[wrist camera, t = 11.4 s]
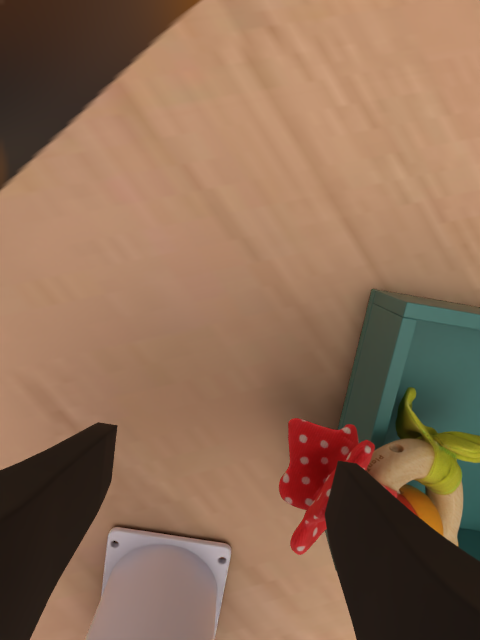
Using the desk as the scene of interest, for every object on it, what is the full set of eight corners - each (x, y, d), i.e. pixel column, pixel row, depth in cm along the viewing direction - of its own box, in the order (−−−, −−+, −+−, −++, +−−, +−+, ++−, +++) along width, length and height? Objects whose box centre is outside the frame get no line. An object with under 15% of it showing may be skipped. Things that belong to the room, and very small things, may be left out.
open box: (504, 537, 24) (564, 605, 20) (317, 508, 24) (335, 571, 20) (582, 324, 22) (675, 347, 17) (371, 288, 21) (407, 301, 17)
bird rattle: (539, 565, 18) (537, 384, 16) (392, 765, 12) (365, 514, 10) (414, 501, 23) (403, 359, 21) (271, 618, 17) (240, 437, 15)
